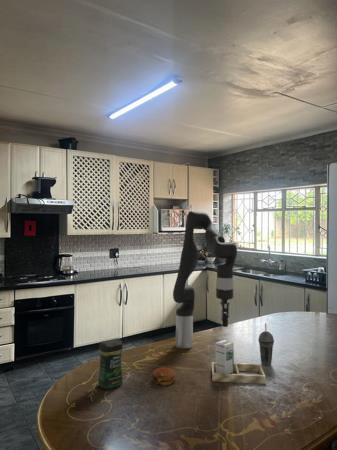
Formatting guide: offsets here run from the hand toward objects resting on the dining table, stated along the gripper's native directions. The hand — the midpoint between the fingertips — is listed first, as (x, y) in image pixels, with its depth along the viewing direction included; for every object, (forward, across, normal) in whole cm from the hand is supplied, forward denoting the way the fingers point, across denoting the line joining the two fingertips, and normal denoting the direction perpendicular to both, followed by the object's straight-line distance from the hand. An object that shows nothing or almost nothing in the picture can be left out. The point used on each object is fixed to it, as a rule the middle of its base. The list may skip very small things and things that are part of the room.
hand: (224, 323), depth 154 cm
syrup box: (+22, +1, 0) cm, 23 cm away
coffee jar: (+23, +16, -47) cm, 55 cm away
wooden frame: (+22, +1, +6) cm, 23 cm away
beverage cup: (+22, -13, +20) cm, 33 cm away
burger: (+23, +9, -26) cm, 36 cm away
